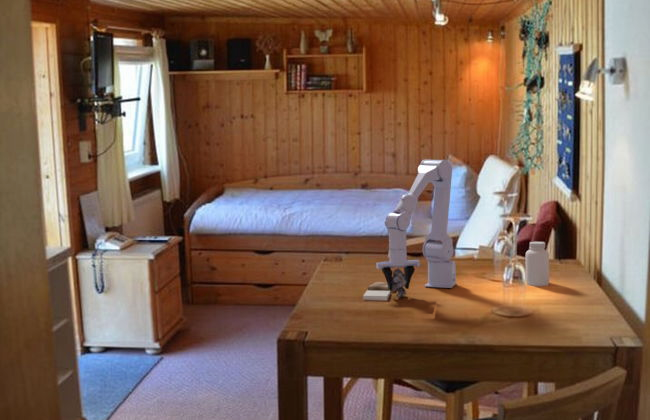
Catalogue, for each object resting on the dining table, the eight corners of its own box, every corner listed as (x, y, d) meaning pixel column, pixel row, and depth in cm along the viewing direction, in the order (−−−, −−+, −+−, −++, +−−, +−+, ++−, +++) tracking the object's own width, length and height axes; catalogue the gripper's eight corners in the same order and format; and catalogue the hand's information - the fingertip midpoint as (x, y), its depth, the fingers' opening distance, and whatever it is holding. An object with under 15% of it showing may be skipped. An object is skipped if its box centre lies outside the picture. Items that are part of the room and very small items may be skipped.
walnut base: (400, 288, 279) (400, 282, 278) (392, 294, 270) (392, 287, 270) (376, 287, 282) (376, 281, 282) (367, 292, 274) (367, 286, 274)
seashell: (406, 299, 262) (405, 269, 261) (389, 299, 263) (389, 269, 262) (407, 295, 267) (407, 266, 266) (391, 295, 268) (391, 266, 267)
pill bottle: (546, 282, 281) (546, 240, 280) (550, 287, 274) (551, 244, 272) (523, 282, 282) (523, 240, 281) (527, 287, 274) (527, 244, 273)
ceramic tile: (390, 295, 269) (390, 290, 269) (387, 300, 261) (387, 296, 261) (367, 294, 270) (367, 290, 270) (363, 300, 263) (363, 295, 262)
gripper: (415, 245, 268) (415, 285, 270) (373, 248, 266) (374, 287, 267) (421, 248, 261) (422, 289, 263) (379, 251, 259) (379, 292, 260)
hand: (398, 288), depth 265 cm, fingers closed on seashell, 5 cm apart
